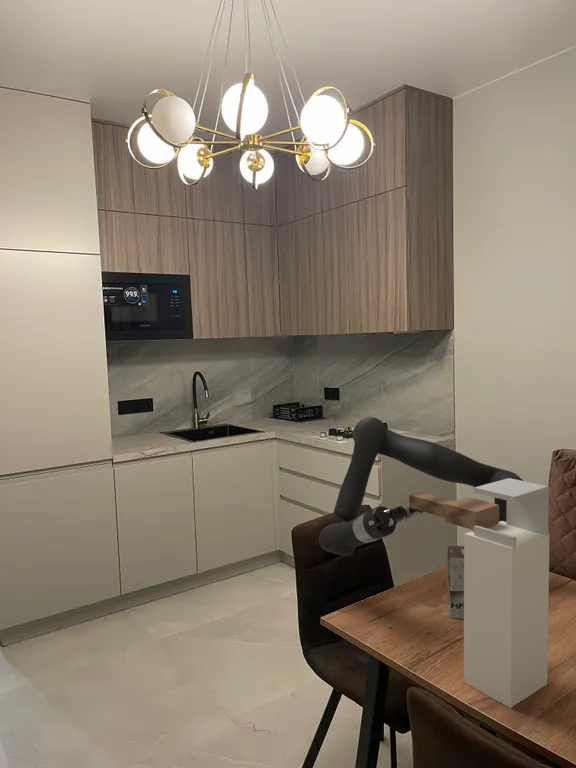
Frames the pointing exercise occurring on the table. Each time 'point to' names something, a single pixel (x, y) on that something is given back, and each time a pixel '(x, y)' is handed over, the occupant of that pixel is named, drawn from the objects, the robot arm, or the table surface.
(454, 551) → the coffee box
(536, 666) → the stand
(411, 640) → the table surface
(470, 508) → the wooden plank block
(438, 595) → the table surface
